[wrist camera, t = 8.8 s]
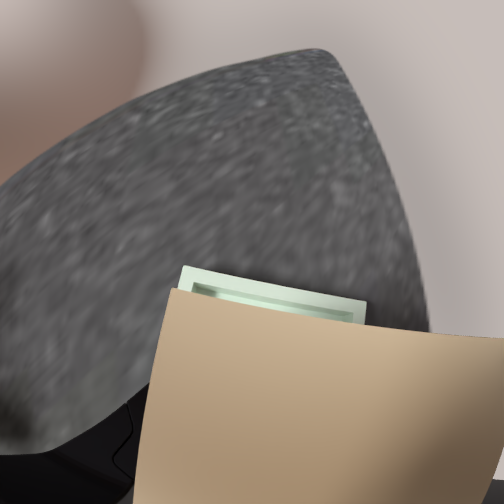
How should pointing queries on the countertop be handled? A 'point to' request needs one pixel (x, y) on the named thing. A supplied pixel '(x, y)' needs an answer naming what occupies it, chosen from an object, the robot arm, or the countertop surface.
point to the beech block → (315, 411)
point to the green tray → (272, 296)
